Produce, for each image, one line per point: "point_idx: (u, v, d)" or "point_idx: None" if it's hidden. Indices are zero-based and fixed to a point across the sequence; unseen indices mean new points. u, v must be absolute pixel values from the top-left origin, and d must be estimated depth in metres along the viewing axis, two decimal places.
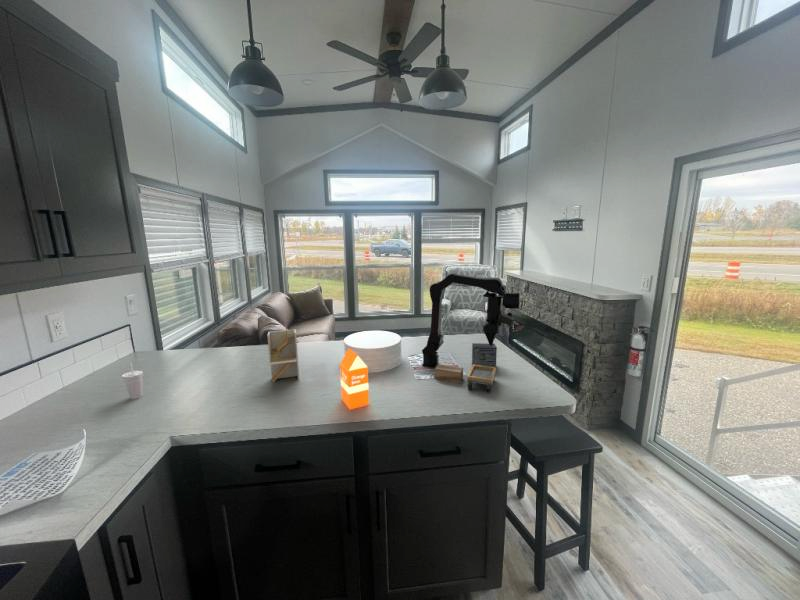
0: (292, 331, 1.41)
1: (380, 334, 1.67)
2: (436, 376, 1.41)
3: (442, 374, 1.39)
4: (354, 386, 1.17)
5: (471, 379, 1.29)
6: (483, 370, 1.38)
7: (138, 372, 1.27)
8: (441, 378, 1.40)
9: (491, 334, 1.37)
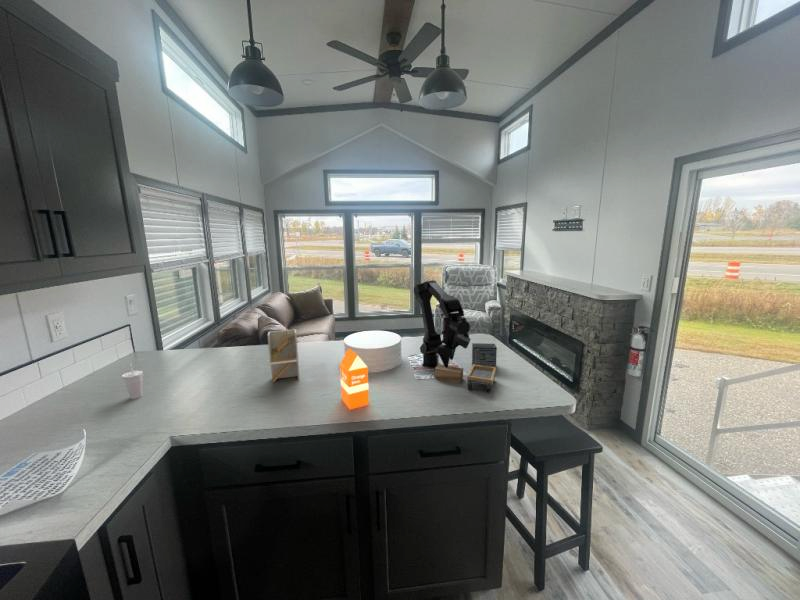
0: (292, 331, 1.41)
1: (380, 334, 1.67)
2: (435, 376, 1.41)
3: (442, 374, 1.40)
4: (354, 386, 1.17)
5: (471, 379, 1.29)
6: (483, 370, 1.38)
7: (138, 372, 1.27)
8: (441, 378, 1.40)
9: (446, 356, 1.34)
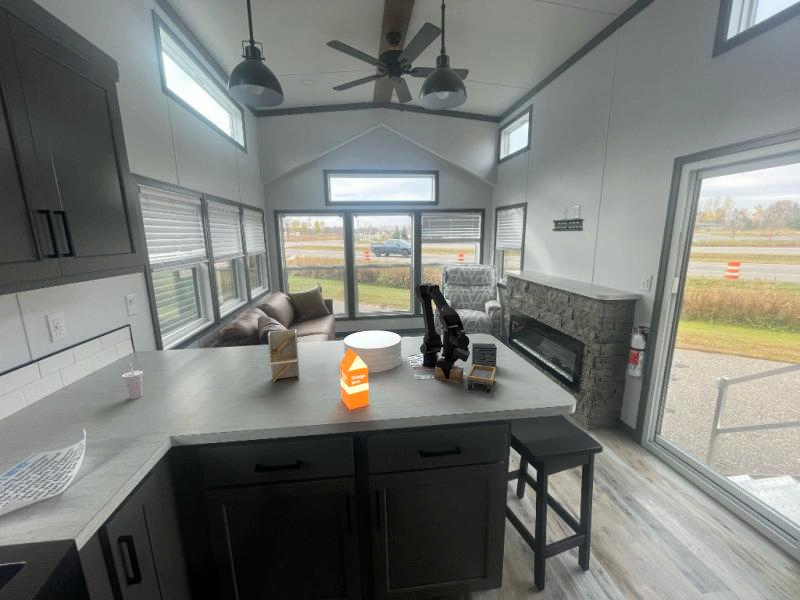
0: (293, 331, 1.41)
1: (380, 334, 1.67)
2: (435, 375, 1.41)
3: (441, 374, 1.40)
4: (354, 386, 1.17)
5: (471, 379, 1.29)
6: (483, 370, 1.38)
7: (138, 372, 1.27)
8: (441, 377, 1.40)
9: (447, 368, 1.36)
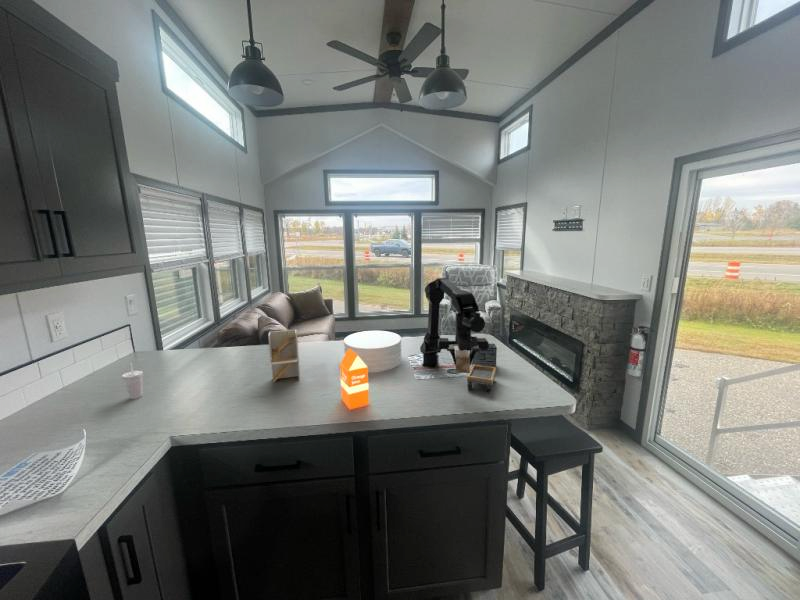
0: (293, 331, 1.41)
1: (380, 334, 1.67)
2: None
3: None
4: (354, 386, 1.17)
5: (471, 379, 1.29)
6: (483, 370, 1.38)
7: (138, 372, 1.27)
8: None
9: None
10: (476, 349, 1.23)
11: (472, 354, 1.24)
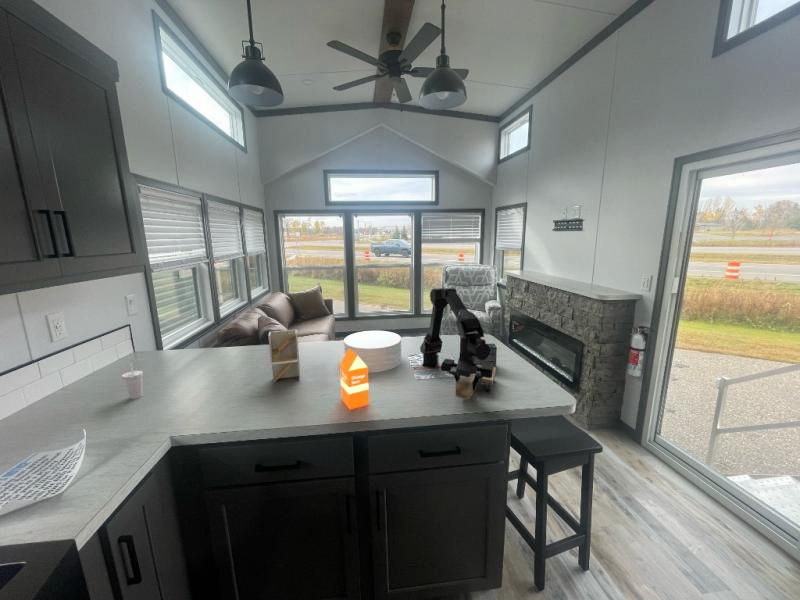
0: (293, 331, 1.41)
1: (380, 334, 1.67)
2: None
3: None
4: (354, 386, 1.17)
5: None
6: None
7: (138, 372, 1.27)
8: None
9: None
10: (479, 376, 1.19)
11: (475, 380, 1.20)
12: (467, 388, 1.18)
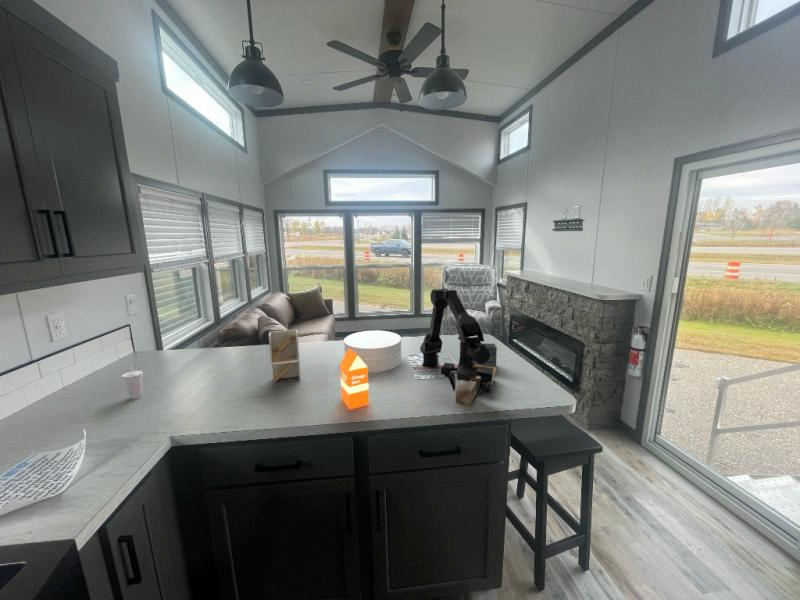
0: (293, 331, 1.41)
1: (380, 334, 1.67)
2: None
3: None
4: (354, 386, 1.17)
5: (471, 379, 1.29)
6: None
7: (138, 372, 1.27)
8: None
9: None
10: None
11: (480, 385, 1.20)
12: (467, 395, 1.18)
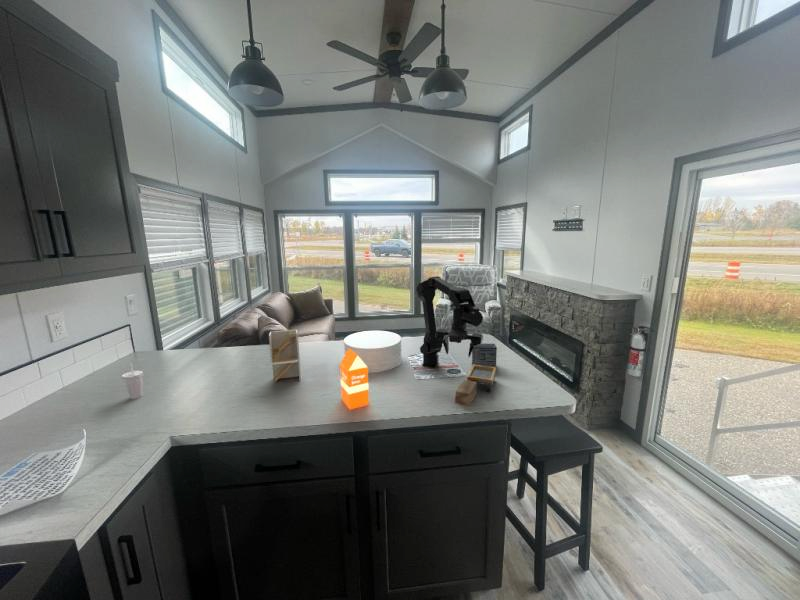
0: (294, 331, 1.41)
1: (380, 334, 1.67)
2: None
3: None
4: (354, 386, 1.17)
5: (471, 379, 1.29)
6: (483, 370, 1.38)
7: (138, 372, 1.27)
8: None
9: None
10: None
11: (470, 348, 1.33)
12: (467, 395, 1.18)
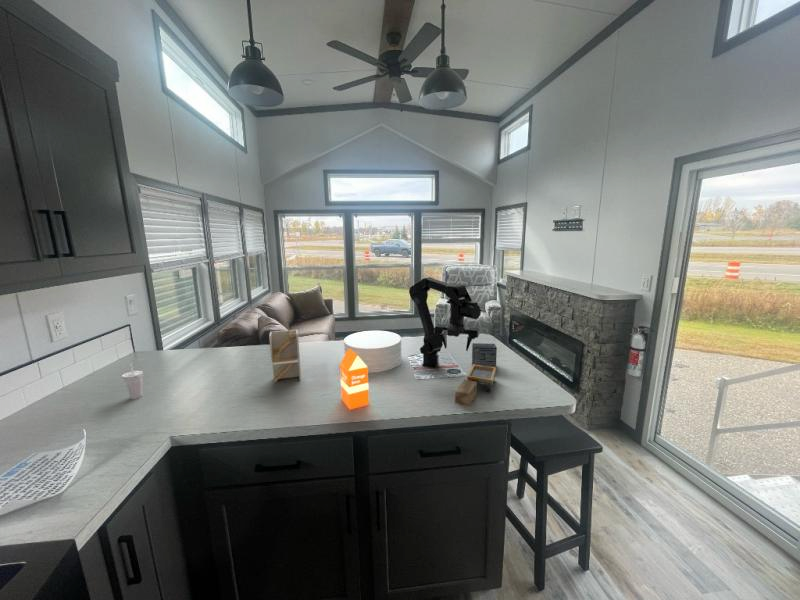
0: (294, 331, 1.41)
1: (380, 334, 1.67)
2: None
3: None
4: (354, 386, 1.17)
5: (471, 379, 1.29)
6: (483, 370, 1.38)
7: (138, 372, 1.27)
8: None
9: None
10: (471, 337, 1.36)
11: (468, 341, 1.38)
12: (467, 395, 1.18)
